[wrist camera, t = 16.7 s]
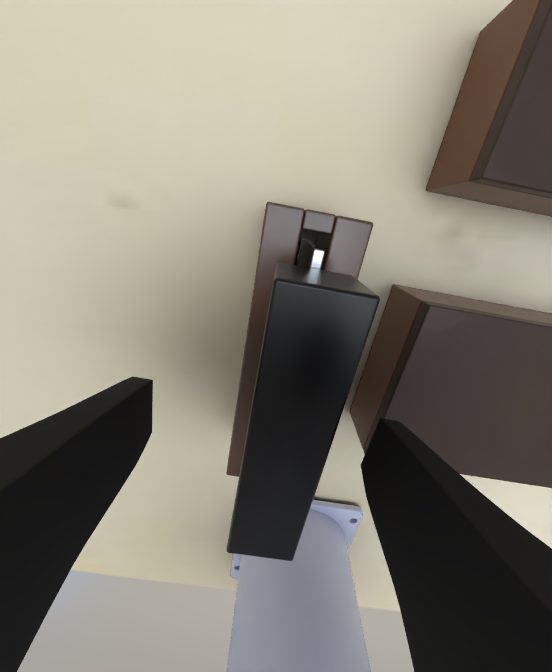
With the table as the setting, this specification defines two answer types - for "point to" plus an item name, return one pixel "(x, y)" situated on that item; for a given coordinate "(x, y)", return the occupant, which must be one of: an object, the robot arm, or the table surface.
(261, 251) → the knife block
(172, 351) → the table surface
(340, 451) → the table surface
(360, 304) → the bench scraper
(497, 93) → the brown rectangular block
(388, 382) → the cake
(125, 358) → the table surface
